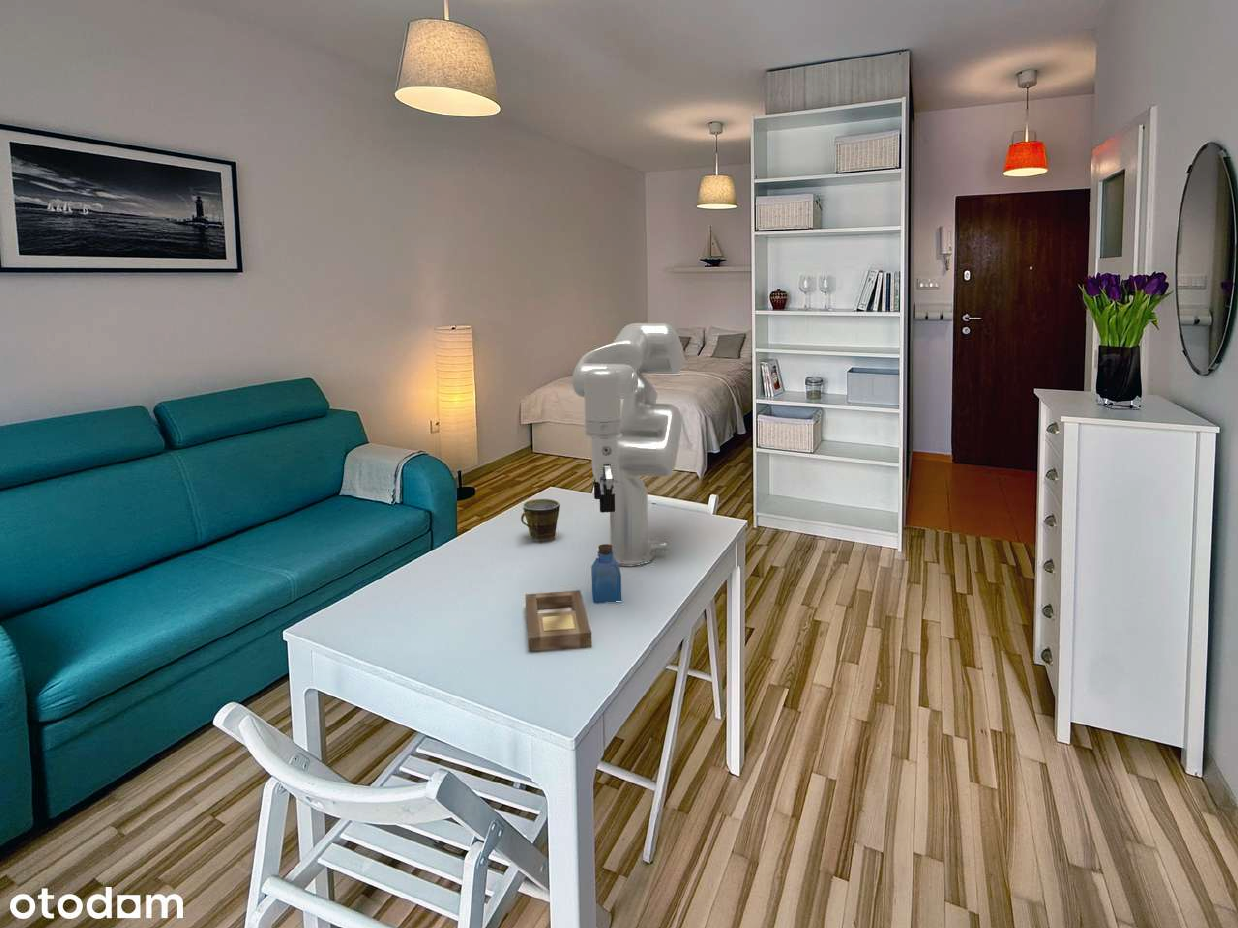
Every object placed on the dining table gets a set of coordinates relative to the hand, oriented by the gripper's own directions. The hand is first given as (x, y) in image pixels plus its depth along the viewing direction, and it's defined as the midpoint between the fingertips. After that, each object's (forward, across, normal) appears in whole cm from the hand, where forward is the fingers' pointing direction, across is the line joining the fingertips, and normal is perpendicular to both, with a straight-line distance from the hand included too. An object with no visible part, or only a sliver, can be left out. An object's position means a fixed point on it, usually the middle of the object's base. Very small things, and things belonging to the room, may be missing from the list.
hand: (604, 504), depth 159 cm
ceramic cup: (+22, +39, +13) cm, 47 cm away
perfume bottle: (+22, 0, 0) cm, 22 cm away
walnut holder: (+22, -12, +12) cm, 27 cm away
